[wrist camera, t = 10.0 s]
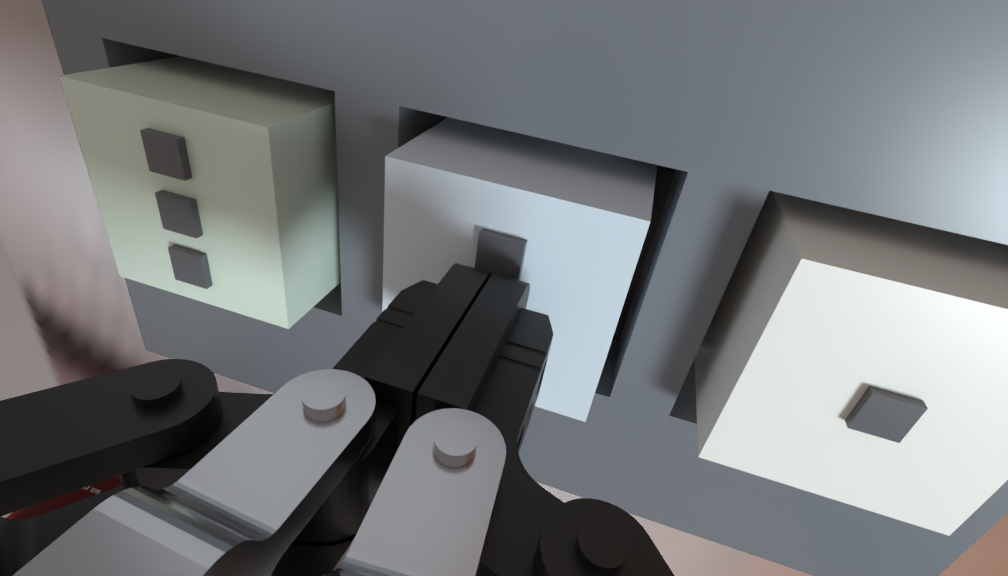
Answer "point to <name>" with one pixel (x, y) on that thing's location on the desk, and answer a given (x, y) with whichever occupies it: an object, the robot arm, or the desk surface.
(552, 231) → the white cube
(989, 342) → the white square block
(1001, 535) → the desk surface
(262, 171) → the white block
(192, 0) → the keypad board
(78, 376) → the desk surface
